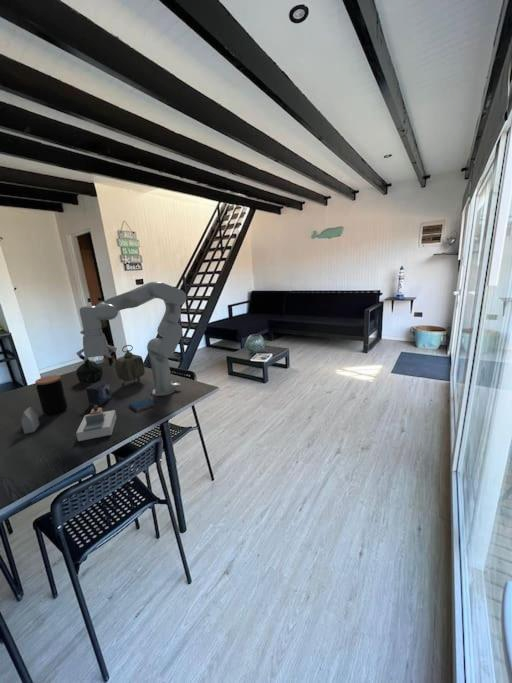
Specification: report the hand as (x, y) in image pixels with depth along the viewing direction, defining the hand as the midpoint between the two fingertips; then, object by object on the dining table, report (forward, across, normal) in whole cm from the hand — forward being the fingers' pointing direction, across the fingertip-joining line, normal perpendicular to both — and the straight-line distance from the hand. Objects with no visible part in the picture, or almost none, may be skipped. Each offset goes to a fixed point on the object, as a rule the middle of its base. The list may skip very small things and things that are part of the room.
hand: (100, 366), depth 142 cm
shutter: (+20, -2, -21) cm, 29 cm away
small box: (+25, -6, +14) cm, 29 cm away
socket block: (+24, -2, -16) cm, 29 cm away
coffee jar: (+24, -27, +12) cm, 38 cm away
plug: (+24, -2, -13) cm, 28 cm away
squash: (+25, -18, +52) cm, 60 cm away
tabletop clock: (+24, +9, +35) cm, 44 cm away
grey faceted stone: (+25, -32, -4) cm, 41 cm away
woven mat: (+25, +16, 0) cm, 30 cm away
